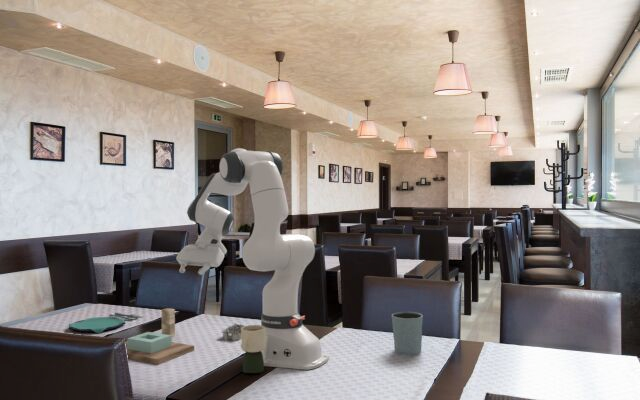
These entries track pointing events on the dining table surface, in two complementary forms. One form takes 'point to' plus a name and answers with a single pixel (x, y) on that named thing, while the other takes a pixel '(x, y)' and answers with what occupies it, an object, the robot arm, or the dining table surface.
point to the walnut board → (160, 353)
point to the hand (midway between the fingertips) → (190, 272)
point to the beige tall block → (168, 321)
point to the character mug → (253, 348)
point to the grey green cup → (407, 332)
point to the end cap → (149, 342)
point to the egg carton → (232, 332)
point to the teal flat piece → (101, 323)
